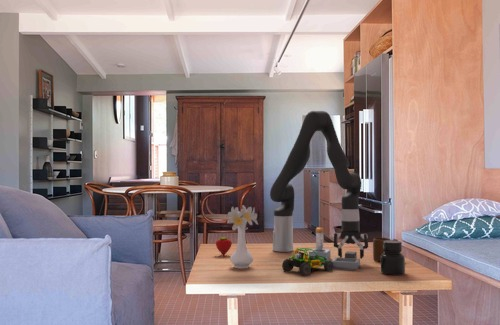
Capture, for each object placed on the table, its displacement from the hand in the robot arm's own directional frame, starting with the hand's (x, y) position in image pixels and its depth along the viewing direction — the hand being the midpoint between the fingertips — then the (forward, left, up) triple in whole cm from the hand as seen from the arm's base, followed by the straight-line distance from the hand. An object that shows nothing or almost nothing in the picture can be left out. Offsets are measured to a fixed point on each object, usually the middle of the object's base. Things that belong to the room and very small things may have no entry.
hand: (351, 257), depth 196 cm
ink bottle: (+18, -15, -2) cm, 23 cm away
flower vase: (-40, -24, -2) cm, 47 cm away
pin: (-14, +3, -2) cm, 15 cm away
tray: (-1, -10, -2) cm, 10 cm away
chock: (0, 0, -2) cm, 2 cm away
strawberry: (-59, 0, -2) cm, 59 cm away
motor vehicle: (-14, -21, -3) cm, 25 cm away
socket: (-14, +3, -2) cm, 15 cm away
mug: (+14, +11, -2) cm, 18 cm away
